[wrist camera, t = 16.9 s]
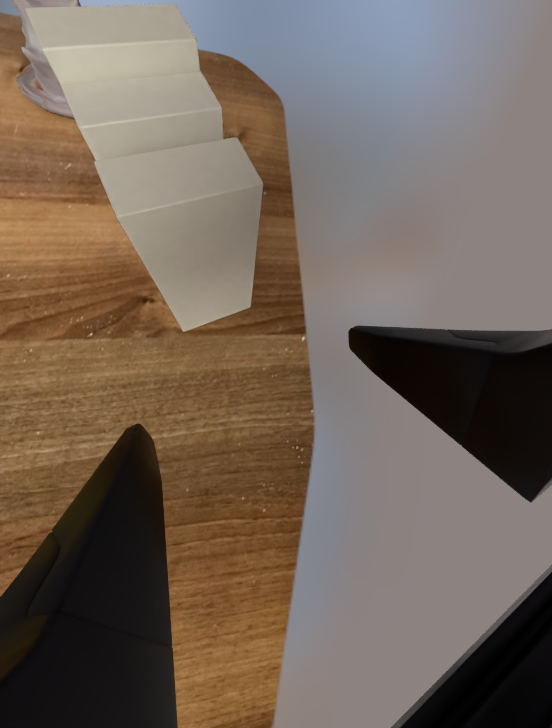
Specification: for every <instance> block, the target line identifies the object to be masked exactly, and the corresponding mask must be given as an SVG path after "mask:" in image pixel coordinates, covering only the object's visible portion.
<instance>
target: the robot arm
mask: <svg viewBox="0 0 552 728" xmlns="http://www.w3.org/2000/svg"><path fill="white" fill-rule="evenodd" d="M349 347H350V349H351V350H352V352H353V353H354V354H355V355H356V356H357V357H358V358H359V359H360V360H361V361H362V362H363V363H364V364H365V365H366V366H367V367H368V368H369V369H370V370H371V371H372V372H373V373H374V374H375V375H377V376H378V377H379V378H380V379H381V380H383V381H384V382H385V383H386V384H387V385H389V386H390V387H391V388H392V389H393V390H395V391H396V392H397V393H398V394H400V395H401V396H402V397H403V398H404V399H406V400H407V401H408V402H409V403H410V404H412V405H413V406H414V407H415V408H416V409H418V410H419V411H420V412H421V413H423V414H424V415H425V416H426V417H427V418H428V419H430V420H431V421H432V422H433V423H434V424H436V425H437V426H438V427H439V428H441V429H442V430H443V431H444V432H445V433H447V434H448V435H449V436H450V437H451V438H453V439H454V440H455V441H456V442H457V443H459V444H460V445H462V447H463V448H465V449H466V450H467V451H468V452H469V453H470V454H472V455H473V456H474V457H475V458H476V459H478V460H479V461H480V462H481V463H482V464H484V465H485V466H486V467H487V468H489V469H490V470H491V471H492V472H494V474H496V475H497V476H498V477H499V478H501V479H502V480H503V481H504V482H505V483H507V484H508V485H509V486H510V487H511V488H513V489H514V490H515V491H516V492H517V493H519V494H520V495H521V496H522V497H524V498H525V499H526V500H528V501H529V502H533V500H535V499H536V498H537V497H538V496H539V495H541V494H542V493H543V492H544V491H545V490H546V489H547V488H549V487H550V486H551V485H552V329H551V330H543V331H472V330H444V329H423V328H400V327H377V326H355V327H353V328H351V329H350V330H349ZM171 646H172V634H171V619H170V603H169V587H168V571H167V556H166V540H165V524H164V508H163V492H162V480H161V475H160V470H159V465H158V460H157V455H156V450H155V445H154V441H153V439H152V437H151V436H150V435H149V434H148V432H147V431H146V430H145V429H144V427H143V426H142V425H141V424H135V425H133V426H131V427H129V428H127V429H126V430H125V431H124V433H123V434H122V435H121V437H120V438H119V439H118V441H117V442H116V443H115V445H114V446H113V448H112V449H111V450H110V452H109V453H108V454H107V456H106V457H105V458H104V460H103V461H102V463H101V464H100V465H99V467H98V468H97V469H96V471H95V472H94V473H93V475H92V476H91V477H90V479H89V480H88V482H87V483H86V484H85V486H84V487H83V488H82V490H81V491H80V492H79V494H78V495H77V497H76V498H75V499H74V501H73V502H72V503H71V505H70V506H69V507H68V509H67V510H66V511H65V513H64V514H63V516H62V517H61V518H60V520H59V521H58V522H57V524H56V525H55V526H54V528H53V529H52V532H51V533H49V534H48V536H47V537H46V539H45V540H44V541H43V543H42V544H41V545H40V547H39V548H38V549H37V551H36V552H35V553H34V555H33V556H32V557H31V559H30V560H29V561H28V563H27V564H26V565H25V567H24V568H23V569H22V571H21V572H20V573H19V575H18V576H17V577H16V578H15V580H14V581H13V582H12V583H11V585H10V586H9V587H8V588H7V590H6V591H5V592H4V593H3V595H2V596H1V597H0V728H178V726H177V710H176V694H175V679H174V663H173V648H172V647H171ZM391 728H552V565H551V566H550V567H549V568H548V569H547V570H546V571H545V572H544V573H543V574H542V575H541V576H540V577H539V578H538V579H537V580H536V581H535V582H534V583H533V584H532V585H531V586H530V587H529V588H528V589H527V590H526V591H525V592H524V593H523V594H522V595H521V596H520V597H519V598H518V600H516V601H515V603H514V604H513V605H512V606H511V607H510V608H509V609H508V610H507V611H506V612H505V613H504V614H503V615H502V616H501V617H500V618H499V619H498V620H497V621H496V622H495V623H494V624H493V625H492V626H491V627H490V628H489V629H488V630H487V631H486V632H485V633H484V634H483V635H482V636H481V637H480V638H479V639H478V640H477V641H476V642H475V643H474V644H473V645H472V646H471V647H470V648H469V649H468V650H467V651H466V652H465V653H464V654H463V655H462V656H461V658H459V659H458V660H457V661H456V662H455V663H454V664H453V665H452V666H451V667H450V669H449V670H448V671H446V672H445V674H444V675H443V676H442V677H441V678H440V679H439V680H438V681H437V682H436V683H435V684H434V685H433V686H432V687H431V688H430V689H429V690H428V691H427V692H426V693H425V694H424V695H423V696H422V697H421V698H420V699H419V700H418V701H417V702H416V703H415V704H414V705H413V706H412V707H411V708H410V709H409V710H408V711H407V712H406V713H405V714H404V715H403V716H402V717H401V718H400V719H399V720H398V721H397V722H396V723H395V724H394V725H393V726H392V727H391Z"/></svg>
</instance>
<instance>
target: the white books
mask: <svg viewBox="0 0 552 728" xmlns="http://www.w3.org/2000/svg"><path fill="white" fill-rule="evenodd" d="M25 10H26V13H27V15H28V18H29V20H30V22H31V25H32V27H33V30H34V32H35V34H36V37H37V39H38V41H39V44H40V46H41V48H42V51H43V53H44V55H45V56H46V58H47V60H48V62H49V64H50V66H51V68H52V70H53V72H54V74H55V76H56V78H57V79H58V81H59V83H60V85H61V88H62V90H63V93H64V95H65V97H66V100H67V102H68V104H69V107H70V109H71V111H72V114H73V116H74V118H75V121H76V123H77V125H78V128H79V130H80V132H81V133H82V135H83V137H84V139H85V141H86V143H87V145H88V147H89V148H90V150H91V152H92V154H93V156H94V158H95V160H96V161H99V160H105V159H111V158H117V157H122V156H128V155H134V154H140V153H146V152H152V151H158V150H164V149H169V148H175V147H181V146H187V145H193V144H199V143H205V142H211V141H217V140H222V139H223V122H222V107H221V105H220V104H219V102H218V100H217V98H216V97H215V95H214V93H213V92H212V90H211V88H210V86H209V85H208V83H207V81H206V79H205V78H204V76H203V74H202V72H200V66H199V57H198V47H197V40H196V38H195V36H194V35H193V33H192V31H191V29H190V28H189V26H188V24H187V22H186V21H185V19H184V17H183V16H182V14H181V12H180V11H179V9H178V7H177V6H176V5H175V4H170V5H169V4H168V5H126V6H125V5H124V6H85V7H84V6H83V7H82V6H81V7H38V8H25Z"/></svg>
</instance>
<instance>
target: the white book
mask: <svg viewBox="0 0 552 728" xmlns="http://www.w3.org/2000/svg"><path fill="white" fill-rule="evenodd" d="M94 164H95V167H96V169H97V172H98V174H99V176H100V179H101V181H102V184H103V186H104V188H105V191H106V193H107V195H108V198H109V200H110V203H111V205H112V207H113V210H114V212H115V215H116V217H117V219H118V220H119V222H120V224H121V226H122V227H123V229H124V231H125V232H126V234H127V236H128V238H129V239H130V241H131V243H132V244H133V246H134V248H135V250H136V251H137V253H138V255H139V257H140V258H141V260H142V262H143V263H144V265H145V267H146V269H147V270H148V272H149V274H150V275H151V277H152V279H153V281H154V282H155V284H156V286H157V287H158V289H159V291H160V293H161V294H162V296H163V298H164V299H165V301H166V303H167V305H168V306H169V308H170V310H171V311H172V313H173V315H174V317H175V318H176V320H177V322H178V323H179V325H180V327H181V329H182V330H183V332H185V331H188V330H190V329H193V328H196V327H199V326H201V325H204V324H207V323H209V322H212V321H215V320H218V319H220V318H223V317H226V316H229V315H231V314H234V313H237V312H240V311H242V310H245V309H248V308H250V307H251V298H252V289H253V279H254V269H255V259H256V249H257V240H258V230H259V220H260V210H261V200H262V191H263V182H262V180H261V178H260V177H259V175H258V173H257V171H256V170H255V168H254V166H253V164H252V163H251V161H250V159H249V157H248V155H247V154H246V152H245V150H244V148H243V147H242V145H241V143H240V141H239V140H238V138H237V137H234V138H228V139H222V140H217V141H211V142H205V143H199V144H193V145H187V146H181V147H175V148H169V149H164V150H158V151H152V152H146V153H140V154H134V155H128V156H122V157H117V158H111V159H105V160H99V161H95V162H94Z"/></svg>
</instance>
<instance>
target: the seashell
mask: <svg viewBox="0 0 552 728" xmlns="http://www.w3.org/2000/svg"><path fill="white" fill-rule="evenodd" d="M13 3H14V5H15V7H16V9H17V10H18V12H19V14H20V16H21V19H22V22H23V25H22V32H23V34H24V35H25V37H26V47H24V46H22V51H23V53H24V54H25V56H26V57H27V58H28V59H29V60H30V61H31V63H30V64H29V65H28V66H27V67H26V68H24V70H23V71H22V72H21V74H20V75H19V76H18V77H16V81H17V83H18V86H19V88H20V89H21V91H22V92H23V94H24V95H25V96H26V97H27V98H29V99H30V100H31V101H33V102H35V103H36V104H38V105H39V106H40V107H42V108H43V109H45V110H47V111H49V112H52V113H56V114H59V115H63V116H66V117H70V118H74V116H73V114H72V111H71V109H70V107H69V104H68V102H67V100H66V97H65V95H64V93H63V90H62V88H61V85H60V83H59V81H58V79H57V78H56V76H55V74H54V72H53V70H52V68H51V66H50V64H49V62H48V60H47V58H46V56H45V55H44V53H43V51H42V48H41V46H40V44H39V41H38V39H37V37H36V34H35V32H34V30H33V27H32V25H31V22H30V20H29V18H28V15H27V13H26V10H25V8H38V7H81V5H80V3H79V0H13ZM74 119H75V118H74Z"/></svg>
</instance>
